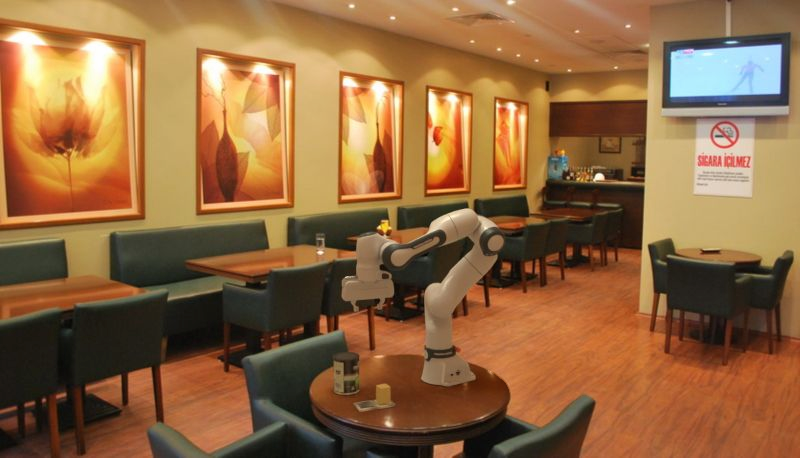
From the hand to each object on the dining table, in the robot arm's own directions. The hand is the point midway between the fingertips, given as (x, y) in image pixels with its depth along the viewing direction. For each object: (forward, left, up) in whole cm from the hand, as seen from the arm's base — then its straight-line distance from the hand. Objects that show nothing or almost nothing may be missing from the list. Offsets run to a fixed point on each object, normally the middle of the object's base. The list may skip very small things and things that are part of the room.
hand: (368, 310), depth 250 cm
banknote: (+2, +12, -33) cm, 35 cm away
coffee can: (+7, -6, -33) cm, 35 cm away
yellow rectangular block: (-2, +12, -32) cm, 34 cm away
